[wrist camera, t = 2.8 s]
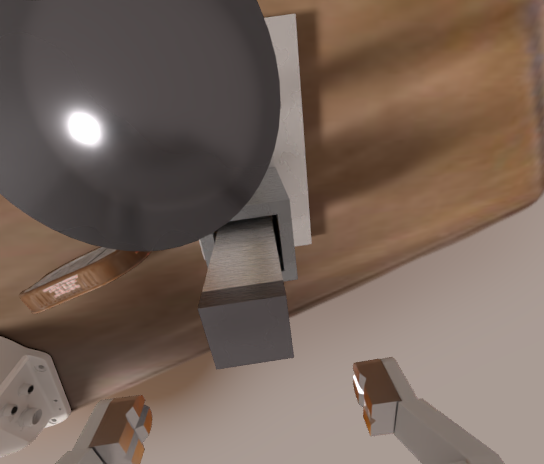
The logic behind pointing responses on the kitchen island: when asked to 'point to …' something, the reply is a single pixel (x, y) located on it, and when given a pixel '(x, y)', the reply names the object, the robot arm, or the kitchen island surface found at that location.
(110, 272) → the tin
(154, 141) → the stand
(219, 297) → the column
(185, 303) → the kitchen island surface
